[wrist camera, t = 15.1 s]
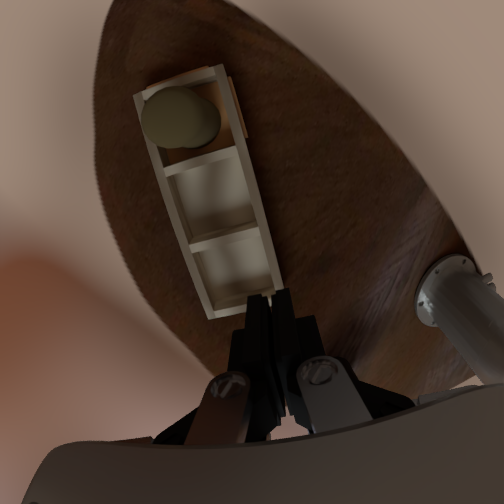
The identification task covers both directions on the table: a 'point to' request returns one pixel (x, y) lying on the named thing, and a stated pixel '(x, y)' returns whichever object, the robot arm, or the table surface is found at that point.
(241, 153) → the spice rack
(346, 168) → the table surface
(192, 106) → the cork
